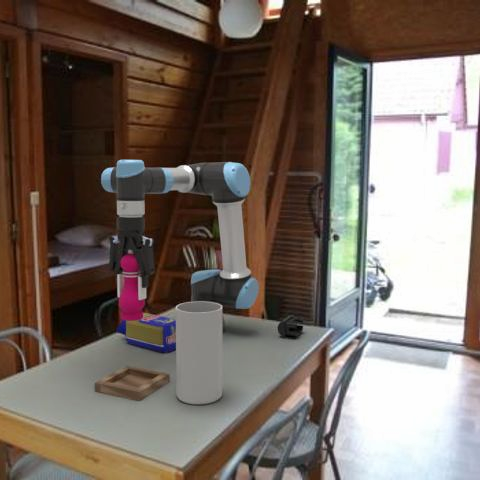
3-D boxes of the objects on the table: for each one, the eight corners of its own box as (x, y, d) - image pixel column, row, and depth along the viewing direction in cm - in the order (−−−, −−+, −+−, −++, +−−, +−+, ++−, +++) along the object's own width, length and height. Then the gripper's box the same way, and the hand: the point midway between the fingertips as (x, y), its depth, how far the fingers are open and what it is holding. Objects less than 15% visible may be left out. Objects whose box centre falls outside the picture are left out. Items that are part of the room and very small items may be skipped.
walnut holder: (127, 373, 166) (127, 365, 166) (169, 381, 160) (169, 373, 160) (94, 391, 153) (94, 382, 152) (139, 401, 147) (139, 392, 146)
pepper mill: (135, 313, 160) (135, 245, 158) (150, 318, 155) (149, 248, 153) (114, 317, 155) (113, 247, 153) (128, 322, 150) (127, 250, 148)
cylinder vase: (179, 386, 156) (179, 301, 153) (223, 387, 156) (223, 301, 153) (173, 405, 144) (172, 312, 141) (220, 406, 144) (220, 313, 141)
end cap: (285, 330, 212) (285, 313, 211) (303, 333, 209) (303, 315, 208) (277, 338, 203) (277, 320, 202) (295, 340, 200) (295, 322, 199)
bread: (164, 355, 183) (164, 325, 182) (114, 341, 198) (114, 313, 196) (185, 347, 191) (185, 318, 190) (135, 334, 206) (135, 307, 205)
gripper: (94, 215, 152) (95, 296, 155) (152, 218, 144) (153, 304, 147) (111, 213, 159) (112, 291, 162) (168, 216, 151) (168, 298, 154)
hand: (131, 297), depth 154 cm, fingers closed on pepper mill, 6 cm apart
